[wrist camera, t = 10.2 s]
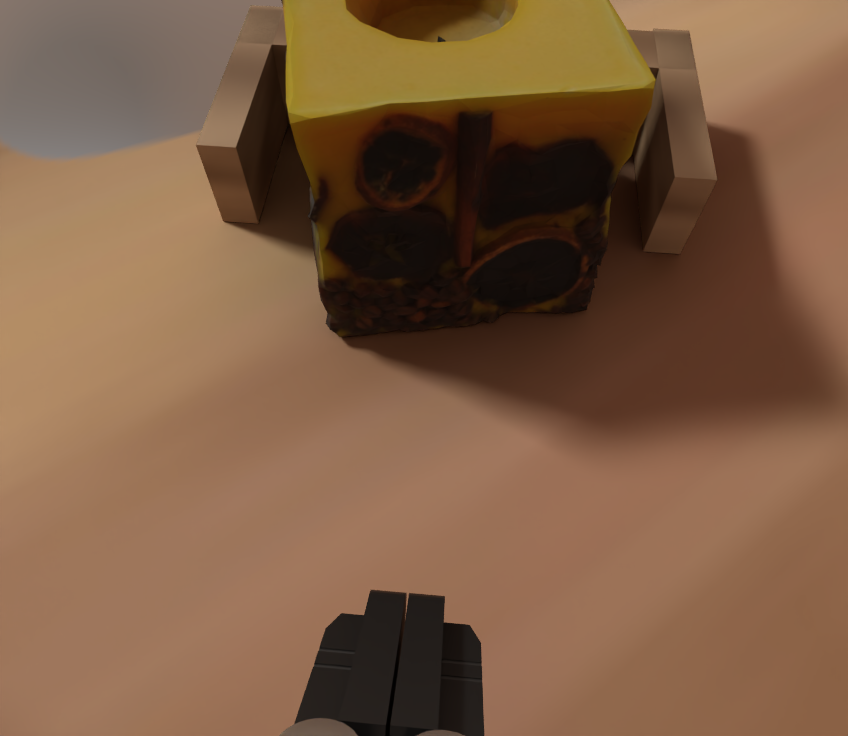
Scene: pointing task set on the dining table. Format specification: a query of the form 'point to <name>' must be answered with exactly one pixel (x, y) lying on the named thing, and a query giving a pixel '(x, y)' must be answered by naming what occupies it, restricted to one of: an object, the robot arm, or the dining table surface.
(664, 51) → the dock
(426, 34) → the candle
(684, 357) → the dining table surface
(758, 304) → the dining table surface
